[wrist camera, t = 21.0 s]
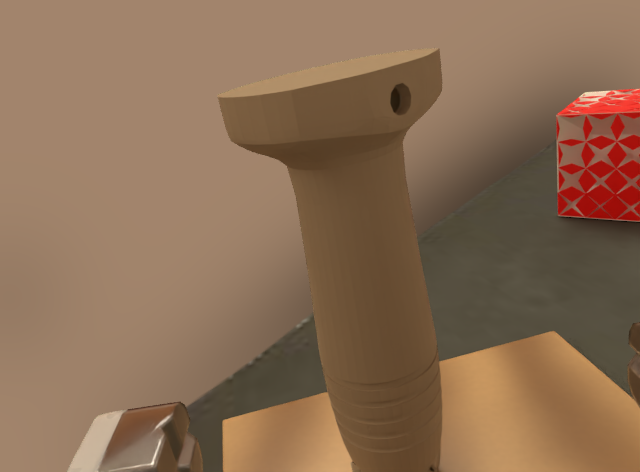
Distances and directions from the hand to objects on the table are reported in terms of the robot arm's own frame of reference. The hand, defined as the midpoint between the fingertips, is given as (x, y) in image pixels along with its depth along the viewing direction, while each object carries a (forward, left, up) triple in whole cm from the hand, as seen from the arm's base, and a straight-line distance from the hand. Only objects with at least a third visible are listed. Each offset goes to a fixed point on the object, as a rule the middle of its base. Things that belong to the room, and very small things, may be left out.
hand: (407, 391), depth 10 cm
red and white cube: (-26, -27, -11) cm, 39 cm away
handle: (-1, -7, -10) cm, 12 cm away
